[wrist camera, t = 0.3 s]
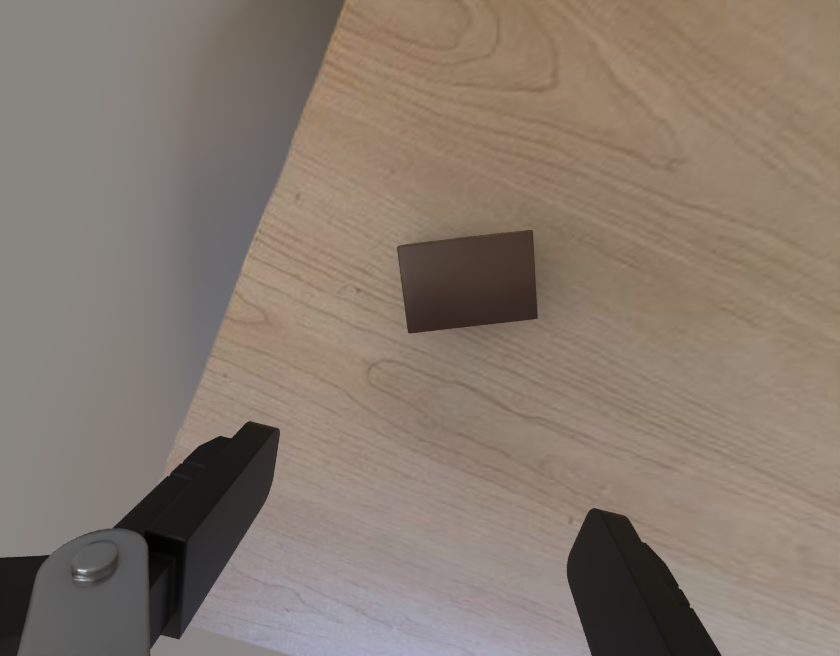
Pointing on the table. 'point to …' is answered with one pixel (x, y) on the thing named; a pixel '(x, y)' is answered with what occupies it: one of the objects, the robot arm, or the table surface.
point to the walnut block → (468, 281)
